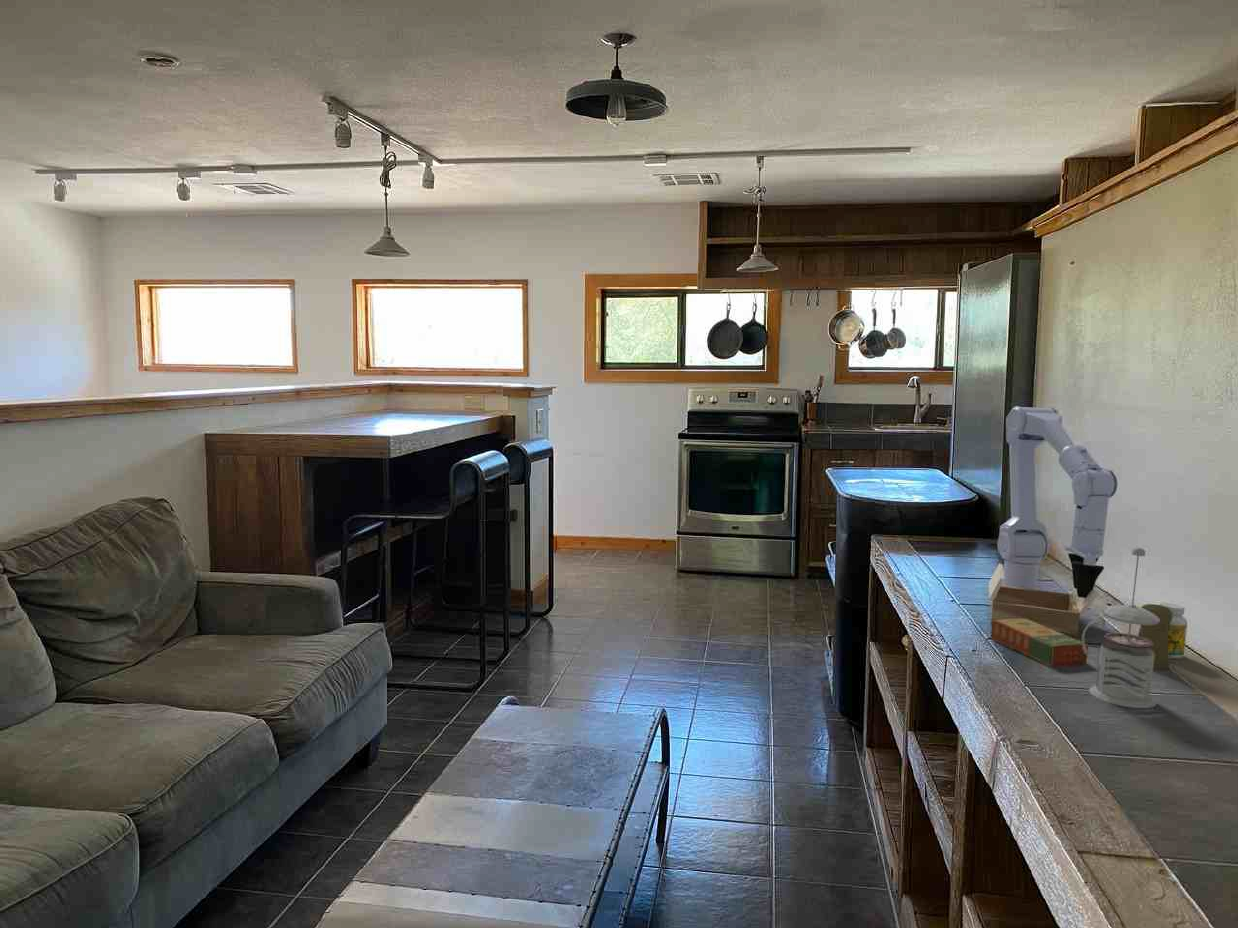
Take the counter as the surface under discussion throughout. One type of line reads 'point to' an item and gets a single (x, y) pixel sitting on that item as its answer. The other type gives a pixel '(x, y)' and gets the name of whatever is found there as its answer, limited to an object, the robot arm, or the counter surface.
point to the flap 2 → (1085, 600)
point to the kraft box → (1037, 608)
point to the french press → (1125, 657)
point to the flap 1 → (996, 582)
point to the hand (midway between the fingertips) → (1081, 592)
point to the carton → (1039, 642)
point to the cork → (1158, 635)
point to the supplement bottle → (1176, 631)
